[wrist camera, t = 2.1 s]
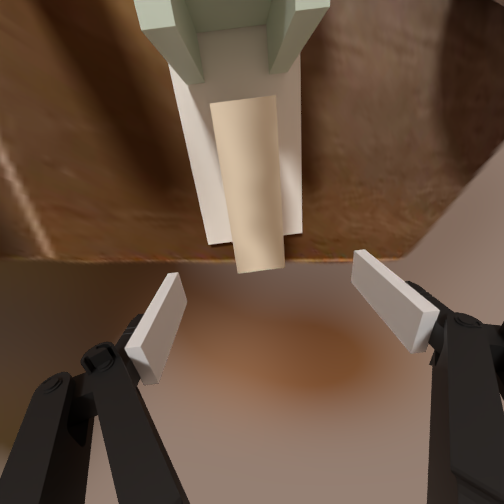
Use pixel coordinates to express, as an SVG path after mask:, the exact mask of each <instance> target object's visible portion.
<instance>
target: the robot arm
mask: <svg viewBox="0 0 504 504" xmlns="http://www.w3.org/2000/svg"><path fill="white" fill-rule="evenodd" d="M351 282H352V283H353V284H354V286H355V287H356V288H357V290H358V291H359V292H360V293H361V294H362V296H363V297H364V298H365V299H366V300H367V301H368V303H369V304H370V305H371V306H372V307H373V309H374V310H375V311H376V312H377V313H378V315H379V316H380V317H381V318H382V320H383V321H384V322H385V323H386V324H387V326H388V327H389V328H390V329H391V330H392V332H393V333H394V334H395V335H396V336H397V338H398V339H399V340H400V341H401V342H402V344H403V345H404V346H405V347H406V348H407V350H408V351H409V352H410V353H420V352H426V349H427V346H428V343H429V344H430V345H431V346H432V347H433V348H434V349H435V350H434V353H433V356H432V359H431V361H430V364H429V365H432V367H433V368H432V390H431V416H430V441H429V466H428V491H427V504H504V411H503V407H502V402H501V397H500V394H501V396H502V398H503V400H504V322H503V324H502V326H500V325H490V324H483V323H482V322H481V321H479V320H478V319H476V318H474V317H472V316H469V315H467V314H464V313H458V312H456V313H454V312H453V311H452V310H450V309H449V308H448V307H446V306H445V305H444V304H442V303H441V302H440V301H438V300H437V299H436V298H434V297H432V295H431V294H429V293H428V292H426V291H425V290H424V289H423V288H422V287H420V286H419V285H417V284H415V283H412V282H410V281H405V282H404V281H403V280H402V279H401V278H399V277H398V276H397V275H396V274H394V273H393V272H392V271H391V270H389V269H388V268H387V267H386V266H385V265H383V264H382V263H381V262H380V261H378V260H377V259H376V258H375V257H373V256H372V255H371V254H370V253H369V252H367V251H366V250H365V249H364V250H356V251H354V259H353V269H352V278H351ZM186 304H187V299H186V296H185V293H184V289H183V286H182V283H181V280H180V277H179V273H178V272H177V273H168V274H167V276H166V278H165V280H164V281H163V283H162V285H161V286H160V288H159V290H158V292H157V293H156V295H155V297H154V298H153V300H152V302H151V304H150V305H149V307H148V309H147V311H146V312H145V314H138V315H137V316H136V317H135V318H134V319H133V320H131V322H130V323H129V325H128V326H127V329H126V330H125V331H124V333H123V335H122V336H121V338H120V339H119V341H118V342H117V344H116V345H115V346H114V344H112V343H111V342H103V343H101V344H98V345H95V346H94V347H92V348H91V349H89V350H88V351H87V352H86V353H85V354H84V355H83V357H82V359H81V365H82V366H83V368H84V369H85V371H86V373H83V374H80V375H77V376H75V377H72V376H71V375H70V374H69V373H68V372H61V373H58V374H55V375H53V376H52V377H49V378H48V379H47V380H45V381H44V382H43V383H42V384H41V385H40V386H39V387H38V388H37V389H36V390H35V392H34V394H33V396H32V399H31V401H30V404H29V406H28V409H27V411H26V414H25V417H24V419H23V422H22V424H21V427H20V429H19V432H18V434H17V437H16V440H15V442H14V445H13V447H12V450H11V452H10V455H9V458H8V460H7V463H6V465H5V468H4V470H3V473H2V475H1V478H0V504H85V494H86V485H87V478H88V477H87V476H88V468H89V460H90V451H91V443H92V433H93V425H94V416H96V415H98V416H99V421H100V425H101V430H102V434H103V438H104V442H105V446H106V451H107V455H108V459H109V464H110V468H111V472H112V477H113V481H114V485H115V489H116V494H117V498H118V502H119V504H190V502H189V500H188V498H187V496H186V493H185V491H184V489H183V487H182V485H181V482H180V480H179V478H178V476H177V473H176V471H175V469H174V467H173V465H172V462H171V460H170V458H169V456H168V454H167V451H166V449H165V447H164V445H163V443H162V440H161V438H160V436H159V434H158V431H157V429H156V427H155V425H154V423H153V420H152V418H151V416H150V413H149V411H148V409H147V407H146V405H145V402H144V400H143V398H142V396H141V394H140V391H139V389H138V387H137V385H138V382H139V380H140V379H141V380H142V382H143V384H144V385H152V384H159V381H160V378H161V376H162V373H163V370H164V367H165V364H166V361H167V358H168V356H169V353H170V350H171V347H172V344H173V341H174V338H175V336H176V332H177V330H178V327H179V324H180V321H181V318H182V315H183V312H184V310H185V307H186Z"/></svg>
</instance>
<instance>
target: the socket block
mask: <svg viewBox="0 0 504 504" xmlns="http://www.w3.org/2000/svg"><path fill="white" fill-rule="evenodd" d="M134 3H135V7H136V11H137V15H138V19H139V23H140V27H141V31H142V32H143V33H144V34H145V35H146V37H147V38H148V39H149V40H150V41H151V43H152V44H153V45H154V46H155V47H156V49H157V50H158V51H159V52H160V53H161V55H162V56H163V57H164V58H165V59H166V61H167V62H168V63H169V64H170V66H171V67H172V68H173V69H174V70H175V72H176V73H177V74H178V75H179V76H180V78H181V79H182V80H183V81H184V82H185V84H186V85H190V84H198V83H205V80H204V74H203V68H202V62H201V56H200V50H199V44H198V38H197V33H201V32H209V31H217V30H225V29H233V28H241V27H249V26H257V25H265V24H266V31H267V47H268V64H269V75H270V74H278V73H286V72H288V71H289V69H290V68H291V66H292V65H293V63H294V61H295V60H296V58H297V57H298V55H299V54H300V52H301V51H302V49H303V47H304V46H305V44H306V43H307V41H308V40H309V38H310V37H311V35H312V33H313V32H314V30H315V29H316V27H317V26H318V24H319V23H320V21H321V19H322V18H323V16H324V15H325V13H326V12H327V10H328V9H329V7H330V0H134Z"/></svg>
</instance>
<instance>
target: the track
mask: <svg viewBox="0 0 504 504" xmlns="http://www.w3.org/2000/svg"><path fill="white" fill-rule="evenodd" d="M197 38H198V44H199V50H200V56H201V62H202V68H203V74H204V80H205V83H198V84H190V85H186V84H185V82H184V81H183V80H182V79H181V78H180V76H179V75H178V74H177V73H176V72H175V70H174V69H173V68H172V67H171V66H170V64H169V63H168V64H169V69H170V73H171V78H172V82H173V87H174V92H175V96H176V101H177V105H178V110H179V114H180V119H181V123H182V128H183V132H184V137H185V141H186V146H187V150H188V155H189V159H190V164H191V168H192V173H193V177H194V182H195V186H196V191H197V195H198V200H199V204H200V209H201V213H202V218H203V222H204V227H205V231H206V236H207V240H208V245H211V244H218V243H226V242H233V241H232V235H231V229H230V223H229V217H228V211H227V205H226V199H225V193H224V187H223V181H222V175H221V169H220V163H219V157H218V151H217V145H216V139H215V133H214V127H213V121H212V115H211V109H210V103H217V102H225V101H233V100H241V99H249V98H257V97H265V96H273V95H276V104H277V124H278V143H279V162H280V182H281V201H282V220H283V235H290V234H298V233H302V166H301V66H300V54H299V55H298V57H297V58H296V60H295V61H294V63H293V65H292V66H291V68H290V69H289V71H288V72H286V73H278V74H270V75H269V64H268V47H267V31H266V24H265V25H257V26H249V27H241V28H233V29H225V30H217V31H209V32H201V33H197Z"/></svg>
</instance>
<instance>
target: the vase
mask: <svg viewBox="0 0 504 504" xmlns="http://www.w3.org/2000/svg"><path fill="white" fill-rule="evenodd" d="M493 1H494V2H496V3H498V4H500V5H502V6H504V0H493Z"/></svg>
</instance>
